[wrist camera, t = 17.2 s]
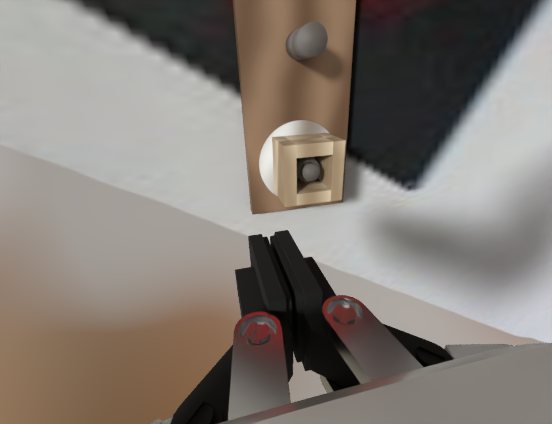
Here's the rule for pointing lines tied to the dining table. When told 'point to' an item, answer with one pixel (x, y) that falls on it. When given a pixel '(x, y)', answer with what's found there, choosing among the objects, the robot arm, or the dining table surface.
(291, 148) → the collar
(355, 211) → the dining table surface
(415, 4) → the dining table surface
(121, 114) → the dining table surface
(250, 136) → the hub board
